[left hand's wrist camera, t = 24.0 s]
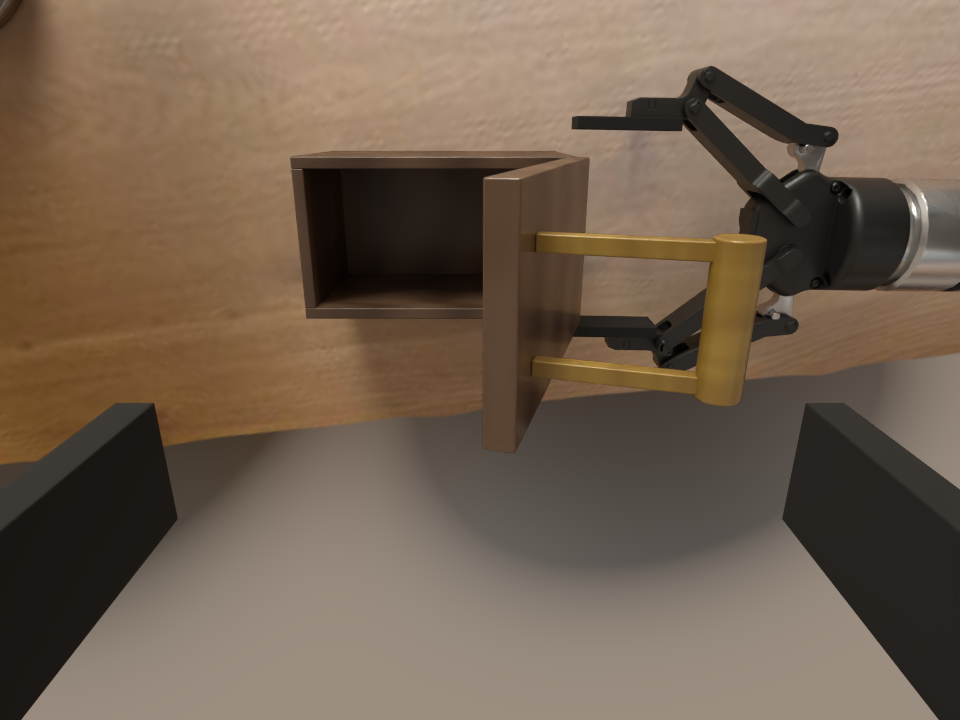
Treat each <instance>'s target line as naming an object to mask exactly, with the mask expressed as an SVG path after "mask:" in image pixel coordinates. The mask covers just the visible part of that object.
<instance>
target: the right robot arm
mask: <svg viewBox="0 0 960 720" xmlns="http://www.w3.org/2000/svg"><path fill="white" fill-rule="evenodd" d="M707 99H708V100H710V101H712V102H713V103H715V104H717V105H718V106H720V107H722V108H723V109H725V110H726V111H728V112H730V113H731V114H733V115H735V116H736V117H738V118H740V119H741V120H743V121H745V122H746V123H748V124H750V125H751V126H753V127H755V128H756V129H758V130H759V131H761V132H763V133H764V134H766V135H768V136H769V137H771V138H773V139H775V140H777V141H780V142H783V143H787V144H788V146H787V151H788V154H789V155H790V156H791V157H794V158H795V159H796V160H797V162H798V169H796V170H794V171H792V172H790V173H788V174H787V175H785V176H784V177H782V178H781V179H778V178H777V177H776V176H775V175H774V174H773V173H771V172H770V171H768V170H767V169H765V168H764V166H763V165H762V164H761V163H760V162H759V161H758V160H757V159H756V158H755V157H754V156H753V155H752V154H751V153H750V151H749V150H748V149H747V148H746V147H745V146H744V145H743V144H742V143H741V142H740V141H739V140H738V139H737V138H736V136H735V135H734V134H733V133H732V132H731V131H730V130H729V129H728V128H727V127H726V126H725V125H724V124H723V123H722V121H721V120H720V119H719V118H718V117H717V116H716V115H715V114H714V113H713V112H712V111H711V110H710V109H709V108H708V106H707V105H706V104H705V102H706V100H707ZM682 125H684V126H685V127H686V128H687V129H688V130H689V132H690V133H691V134H692V135H693V136H694V137H695V138H696V139H697V140H698V141H699V142H700V143H701V144H702V145H703V146H704V147H705V148H706V149H707V150H708V151H709V152H710V154H711V155H712V156H713V157H714V158H715V159H716V160H717V161H718V162H719V163H720V164H721V165H722V166H723V167H724V168H725V169H726V170H727V171H728V172H729V173H730V174H731V175H732V177H733V178H734V179H735V180H736V181H737V184H738V185H739V186H740V187H741V188H742V189H743V190H744V192H745V193H746V194H747V195H748V196H749V197H750V198H751V199H750V200H749V201H748V202H747V203H746V205H745V207H744V208H741V210H740V216H739V225H740V232H739V234H747V235H755V236H760V237H763V238H765V239H767V246H766V252H765V258H764V264H763V271H762V277H761V283H760V289H759V291H760V290H761V289H763V288H764V287H767V288H768V289H770V290H771V291H773V292H774V294H773V297H772V298H771V300H769V301H768V302H765V303H763V304H760V305H759V306H758V310H757V311H756V313H755V319H754V325H753V332H752V338H751V342H754V341H756V340H758V339H761V338H763V337H767V336H778V335H789V334H793V333H794V332H796V330H797V329H798V326H799V324H798V321H797V320H796V319H794V318H792V309H793V297H794V295H795V294H797V293H799V292H802V291H805V290H861V291H866V290H872V289H876V290H878V291H959V292H960V180H950V179H905V178H901V179H893V180H889V179H885V178H852V177H826V176H824V175H823V174H821V173H820V172H819V169H820V166H821V163H822V160H823V157H824V153H825V150H826V147H831V146H833V145H834V144H835V143H836V141H837V139H838V131H837V130H836V129H835V128H833V127H827V126H820V125H814V124H807V123H805V122H803V121H801V120H800V119H798V118H796V117H795V116H793V115H792V114H790V113H788V112H787V111H785V110H784V109H782V108H780V107H779V106H777V105H775V104H774V103H772V102H771V101H769V100H767V99H766V98H764V97H763V96H761V95H759V94H758V93H756V92H754V91H753V90H751V89H750V88H748V87H746V86H745V85H743V84H742V83H740V82H738V81H737V80H735V79H733V78H732V77H730V76H729V75H727V74H725V73H724V72H722V71H721V70H719V69H717V68H716V67H713V66H709V67H705V68H701V69H698V70H695V71H693V72H691V73H690V75H689V76H688V79H687V85H686V87H685V89H684V91H683V93H682V94H681V95H680V96H679V97H678V98H643V97H640V98H636V99H633V100H630V101H628V102H627V109H626V117H602V116H576V117H572V129H589V130H643V131H682ZM706 289H707V288H706ZM706 289H704V290H703V291H702V292H700V293H699V294H697V295H696V296H695V297H693V298H692V299H690V300H689V301H688V302H686V303H685V304H684V305H682V306H681V307H679V308H678V309H677V310H675V311H674V312H672V313H671V314H670V315H668V316H667V317H666V318H664V319H663V320H661V321H660V322H659V323H657V324H656V325H654V323H653V322H652V321H651V320H650V319H649V318H648V317H630V316H580V323H579V325H578V327H577V329H576V331H575V333H574V335H573V337H605V342H606V344H607V345H608V347H610V348H612V349H615V350H649V351H652V353H653V361H654V362H655V363H656V365H657V366H658V368H664V369H674V370H684V371H685V370H687V369H690V368H692V367H694V366H696V364H697V357H698V349H699V342H700V334H701V332H699V333H697V334H695V335H692V334H694V333H695V332H696V331H698V330H699V329H701V327H702V319H703V312H704V304H705V297H706ZM691 335H692V336H691ZM689 336H690V337H689Z"/></svg>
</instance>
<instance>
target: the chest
mask: <svg viewBox="0 0 960 720" xmlns="http://www.w3.org/2000/svg"><path fill="white" fill-rule="evenodd" d="M567 157H574V156H571V155H567V154H563V153H559V152H556V151H330V152H322V153H314V154H307V155H299V156H292V157H290V160H291V168H292V180H293V190H294V200H295V210H296V219H297V229H298V239H299V249H300V259H301V268H302V278H303V288H304V298H305V307H306V318H311V319H483V179H484V177H488V176H492V175H496V174H500V173H504V172H509V171H513V170H517V169H521V168H525V167H530V166H534V165H538V164H542V163H546V162H551V161H555V160H559V159H563V158H567Z"/></svg>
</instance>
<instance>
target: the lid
mask: <svg viewBox="0 0 960 720" xmlns="http://www.w3.org/2000/svg"><path fill="white" fill-rule="evenodd" d="M589 161H590V159H589V158H588V157H567V158H563V159H559V160H555V161H551V162H546V163H542V164H538V165H534V166H530V167H525V168H521V169H517V170H513V171H509V172H504V173H500V174H496V175H492V176H488V177H484V179H483V449H486V450H493V451H500V452H506V453H515V452H516V450H517V448H518V446H519V444H520V442H521V440H522V438H523V436H524V434H525V431H526V430H527V427H528V426H529V424H530V422H531V419H532V417H533V415H534V413H535V411H536V409H537V407H538V405H539V403H540V401H541V399H542V397H543V395H544V393H545V391H546V389H547V387H548V385H549V383H550V381H551V379H557V380H566V381H576V382H585V383H594V384H603V385H612V386H621V387H630V388H640V389H649V390H658V391H667V392H676V393H686V394H693V395H694V397H695V398H696V399H697V400H699V401H701V402H703V403H706V404H710V405H715V406H733V405H736V404H738V403H739V402H740V401H741V399H742V393H743V386H744V380H745V374H746V368H747V362H748V356H749V350H750V344H751V338H752V332H753V325H754V319H755V313H756V307H757V301H758V295H759V289H760V283H761V277H762V271H763V264H764V258H765V252H766V246H767V239H765V238H763V237H760V236H755V235H747V234H720V235H716V236H714V238H713V239H699V238H676V237H654V236H631V235H609V234H587V233H585V227H586V210H587V194H588V177H589ZM584 255H590V256H608V257H627V258H645V259H664V260H682V261H700V262H710V267H709V274H708V282H707V289H706V297H705V304H704V312H703V319H702V327H701V334H700V342H699V349H698V357H697V364H696V372H694V371H684V370H674V369H664V368H654V367H644V366H634V365H624V364H614V363H604V362H594V361H584V360H574V359H564V358H562V357H563V355H564V353H565V351H566V349H567V347H568V345H569V343H570V341H571V339H572V337H573V335H574V333H575V331H576V329H577V327H578V325H579V323H580V310H581V294H582V277H583V260H584Z"/></svg>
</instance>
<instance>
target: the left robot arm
mask: <svg viewBox="0 0 960 720" xmlns="http://www.w3.org/2000/svg"><path fill="white" fill-rule="evenodd" d="M20 1H21V0H0V27H1V26H2V25H3V24H4V23H6V22H7V20H8V19H9V18H10V17H11V16H12V14H13V13H14V11H15V10H16V8H17V7H18V5H19V3H20ZM177 519H178V518H177V513H176V508H175V503H174V498H173V494H172V489H171V484H170V479H169V474H168V469H167V464H166V459H165V455H164V449H163V445H162V440H161V435H160V430H159V425H158V420H157V415H156V410H155V405H154V403H116V404H114V405H113V406H111V407H110V408H109V409H107V410H106V411H105V412H103V413H102V414H101V415H99V416H98V417H97V418H95V419H94V420H93V421H91V422H90V423H89V424H87V425H86V426H85V427H83V428H82V429H81V430H79V431H78V432H77V433H75V434H74V435H73V436H71V437H70V438H69V439H67V440H66V441H65V442H63V443H62V444H61V445H59V446H58V447H57V448H55V449H54V450H53V451H51V452H50V453H49V454H47V455H46V456H45V457H43V458H42V459H41V460H39V461H38V462H36V463H35V464H34V465H32V466H31V467H30V468H28V469H27V470H26V471H24V472H23V473H22V474H20V475H19V476H18V477H17V478H15V479H14V480H12V481H11V482H10V483H8V484H7V485H6V486H4V487H3V488H2V489H0V720H21V719H22V718H23V717H24V715H25V714H26V713H27V712H28V710H29V709H30V708H31V706H32V705H33V704H34V703H35V701H36V700H37V699H38V697H39V696H40V695H41V694H42V692H43V691H44V690H45V689H46V687H47V686H48V685H49V683H50V682H51V681H52V680H53V678H54V677H55V676H56V674H57V673H58V672H59V670H60V669H61V668H62V667H63V665H64V664H65V663H66V662H67V660H68V659H69V658H70V656H71V655H72V654H73V653H74V651H75V650H76V649H77V647H78V646H79V645H80V644H81V642H82V641H83V640H84V638H85V637H86V636H87V635H88V633H89V632H90V631H91V630H92V628H93V627H94V626H95V624H96V623H97V622H98V621H99V619H100V618H101V617H102V615H103V614H104V613H105V612H106V610H107V609H108V608H109V606H110V605H111V604H112V602H113V601H114V600H115V599H116V597H117V596H118V595H119V594H120V592H121V591H122V590H123V588H124V587H125V586H126V585H127V583H128V582H129V581H130V580H131V578H132V577H133V576H134V574H135V573H136V572H137V571H138V569H139V568H140V567H141V565H142V564H143V563H144V562H145V560H146V559H147V558H148V556H149V555H150V554H151V552H152V551H153V550H154V549H155V547H156V546H157V545H158V544H159V542H160V541H161V540H162V538H163V537H164V536H165V535H166V533H167V532H168V531H169V529H170V528H171V527H172V526H173V524H174V523H175V522H176V520H177ZM782 519H783V520H784V522H785V523H786V524H787V526H788V527H789V528H790V529H791V531H792V532H793V533H794V535H795V536H796V537H797V538H798V540H799V541H800V542H801V544H802V545H803V546H804V547H805V549H806V550H807V551H808V553H809V554H810V555H811V556H812V558H813V559H814V560H815V562H816V563H817V564H818V565H819V567H820V568H821V569H822V571H823V572H824V573H825V574H826V576H827V577H828V578H829V580H830V581H831V582H832V583H833V585H834V586H835V587H836V588H837V590H838V591H839V592H840V594H841V595H842V596H843V597H844V599H845V600H846V601H847V603H848V604H849V605H850V606H851V608H852V609H853V610H854V612H855V613H856V614H857V615H858V617H859V618H860V619H861V621H862V622H863V623H864V624H865V626H866V627H867V628H868V630H869V631H870V632H871V633H872V635H873V636H874V637H875V638H876V640H877V641H878V642H879V644H880V645H881V646H882V647H883V649H884V650H885V651H886V653H887V654H888V655H889V656H890V658H891V659H892V660H893V662H894V663H895V664H896V665H897V667H898V668H899V669H900V671H901V672H902V673H903V674H904V676H905V677H906V678H907V680H908V681H909V682H910V683H911V685H912V686H913V687H914V688H915V690H916V691H917V692H918V693H919V695H920V696H921V697H922V699H923V700H924V701H925V703H926V704H927V705H928V706H929V708H930V709H931V710H932V712H933V713H934V714H935V715H936V717H937V718H938V719H939V720H960V489H958V488H957V487H956V486H954V485H953V484H952V483H950V482H949V481H948V480H946V479H945V478H944V477H942V476H941V475H940V474H938V473H937V472H936V471H934V470H933V469H932V468H930V467H929V466H927V465H926V464H925V463H923V462H922V461H921V460H919V459H918V458H917V457H915V456H914V455H913V454H911V453H910V452H909V451H907V450H906V449H905V448H903V447H902V446H901V445H899V444H898V443H897V442H895V441H894V440H893V439H891V438H890V437H889V436H887V435H886V434H885V433H883V432H882V431H881V430H879V429H878V428H877V427H875V426H874V425H873V424H871V423H870V422H869V421H867V420H866V419H865V418H863V417H862V416H861V415H859V414H858V413H857V412H855V411H854V410H852V409H851V408H850V407H849V406H847V405H846V404H844V403H806V406H805V410H804V415H803V420H802V425H801V430H800V435H799V440H798V445H797V449H796V454H795V459H794V464H793V469H792V474H791V479H790V484H789V489H788V494H787V498H786V503H785V508H784V513H783V518H782Z"/></svg>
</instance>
